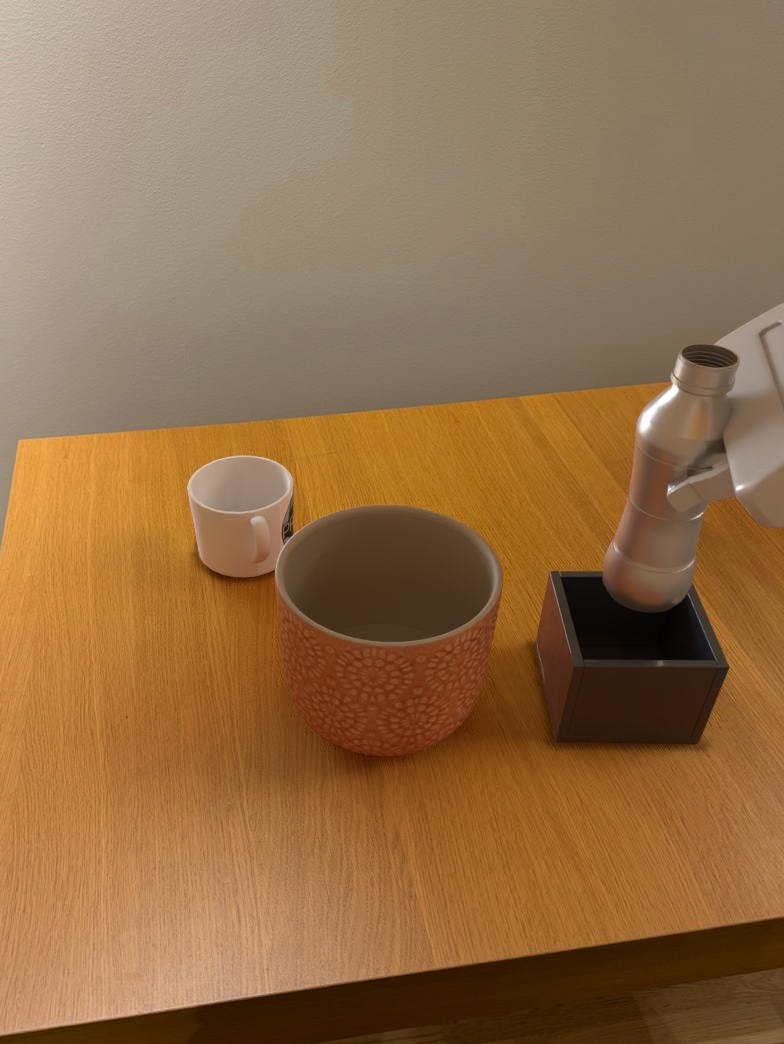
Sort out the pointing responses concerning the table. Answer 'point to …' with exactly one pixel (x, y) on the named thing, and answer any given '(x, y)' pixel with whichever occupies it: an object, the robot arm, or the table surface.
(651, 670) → the dark square storage bin
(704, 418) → the silver metal bottle
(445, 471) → the table surface
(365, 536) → the planter
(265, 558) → the mug
